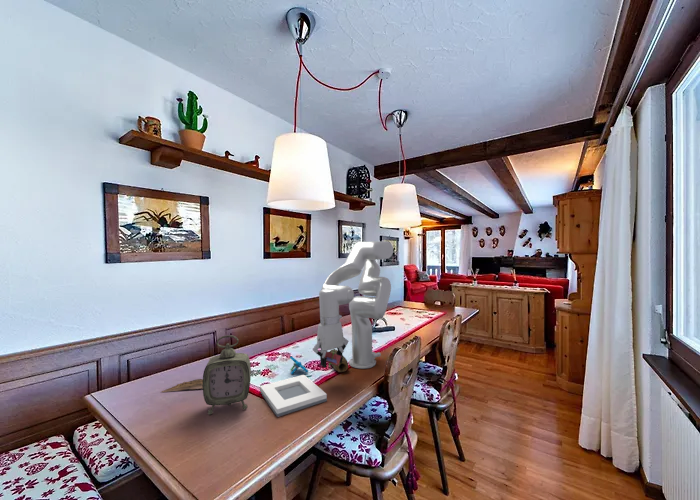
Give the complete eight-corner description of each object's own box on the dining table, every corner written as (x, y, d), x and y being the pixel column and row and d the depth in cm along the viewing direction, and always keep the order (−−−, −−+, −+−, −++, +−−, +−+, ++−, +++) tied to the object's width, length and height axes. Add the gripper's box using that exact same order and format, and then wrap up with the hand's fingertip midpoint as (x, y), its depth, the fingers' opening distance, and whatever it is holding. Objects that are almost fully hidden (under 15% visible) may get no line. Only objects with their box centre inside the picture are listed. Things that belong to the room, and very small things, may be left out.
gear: (311, 371, 126) (294, 357, 125) (302, 383, 124) (284, 369, 122) (306, 366, 136) (290, 352, 135) (297, 377, 134) (281, 363, 133)
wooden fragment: (233, 375, 129) (233, 372, 129) (232, 385, 119) (232, 383, 119) (165, 385, 120) (165, 383, 120) (158, 398, 110) (158, 395, 110)
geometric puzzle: (344, 356, 121) (332, 342, 121) (345, 363, 114) (332, 348, 114) (331, 367, 121) (319, 353, 121) (331, 375, 114) (317, 360, 114)
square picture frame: (304, 380, 121) (304, 374, 121) (326, 400, 105) (326, 393, 105) (260, 392, 112) (259, 385, 112) (277, 417, 95) (277, 409, 95)
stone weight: (325, 363, 140) (324, 349, 140) (338, 360, 143) (338, 347, 143) (336, 375, 127) (336, 359, 127) (351, 372, 129) (351, 357, 129)
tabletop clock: (203, 418, 95) (201, 341, 95) (208, 404, 104) (207, 333, 104) (250, 411, 99) (248, 336, 99) (251, 398, 107) (250, 329, 108)
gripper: (343, 314, 125) (345, 356, 126) (305, 322, 116) (308, 366, 116) (353, 317, 119) (355, 361, 119) (314, 326, 109) (316, 373, 110)
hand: (331, 363), depth 118 cm, fingers closed on geometric puzzle, 6 cm apart
